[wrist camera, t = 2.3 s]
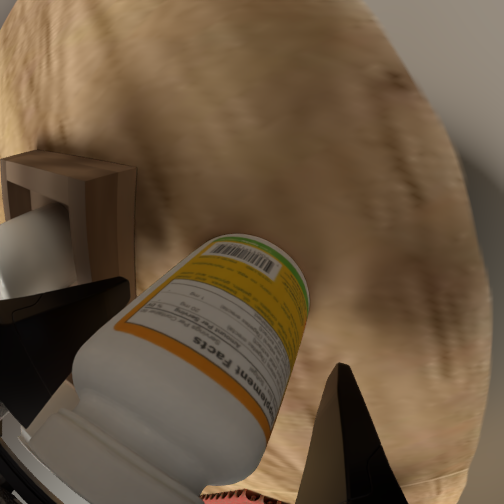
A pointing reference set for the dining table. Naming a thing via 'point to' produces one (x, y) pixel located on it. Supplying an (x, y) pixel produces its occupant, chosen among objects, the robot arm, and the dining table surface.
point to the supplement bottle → (183, 379)
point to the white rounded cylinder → (36, 252)
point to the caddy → (79, 208)
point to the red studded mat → (234, 499)
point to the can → (49, 413)
